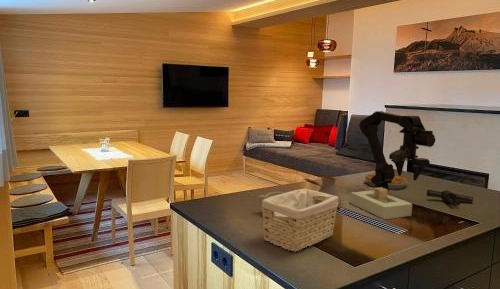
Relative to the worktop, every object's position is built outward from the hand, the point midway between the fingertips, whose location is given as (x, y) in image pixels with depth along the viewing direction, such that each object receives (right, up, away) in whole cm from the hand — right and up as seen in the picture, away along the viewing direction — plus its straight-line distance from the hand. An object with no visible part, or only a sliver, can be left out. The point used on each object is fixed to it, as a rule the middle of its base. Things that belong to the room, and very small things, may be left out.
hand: (407, 177), depth 165 cm
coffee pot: (-41, -13, -8) cm, 44 cm away
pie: (+3, -7, +35) cm, 36 cm away
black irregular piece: (+21, -13, +2) cm, 25 cm away
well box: (-15, -13, -7) cm, 21 cm away
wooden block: (-15, -12, -7) cm, 20 cm away
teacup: (-61, -14, -15) cm, 64 cm away
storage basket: (-54, -18, -40) cm, 69 cm away
